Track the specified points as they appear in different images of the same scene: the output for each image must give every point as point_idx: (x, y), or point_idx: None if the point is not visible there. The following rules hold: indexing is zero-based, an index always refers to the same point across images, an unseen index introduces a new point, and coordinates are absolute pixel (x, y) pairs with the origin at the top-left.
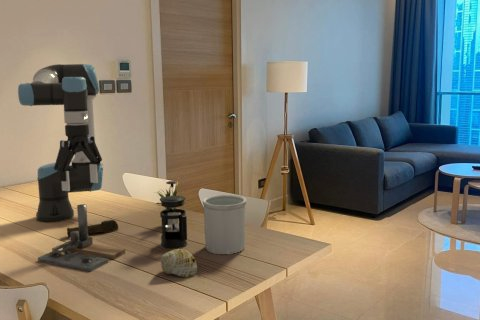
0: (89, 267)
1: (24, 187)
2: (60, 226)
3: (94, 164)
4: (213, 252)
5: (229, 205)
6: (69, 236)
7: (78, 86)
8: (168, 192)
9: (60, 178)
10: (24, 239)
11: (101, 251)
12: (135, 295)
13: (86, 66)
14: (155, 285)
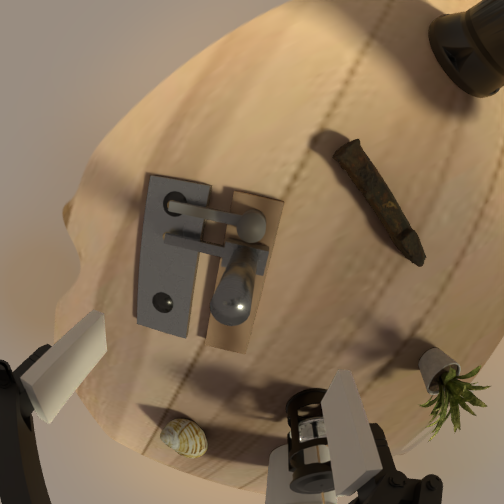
0: (137, 320)
1: None
2: (417, 87)
3: (350, 490)
4: (272, 452)
5: None
6: (332, 157)
7: None
8: (480, 389)
9: (34, 354)
10: (298, 41)
11: None
12: (107, 393)
13: None
14: (139, 410)
